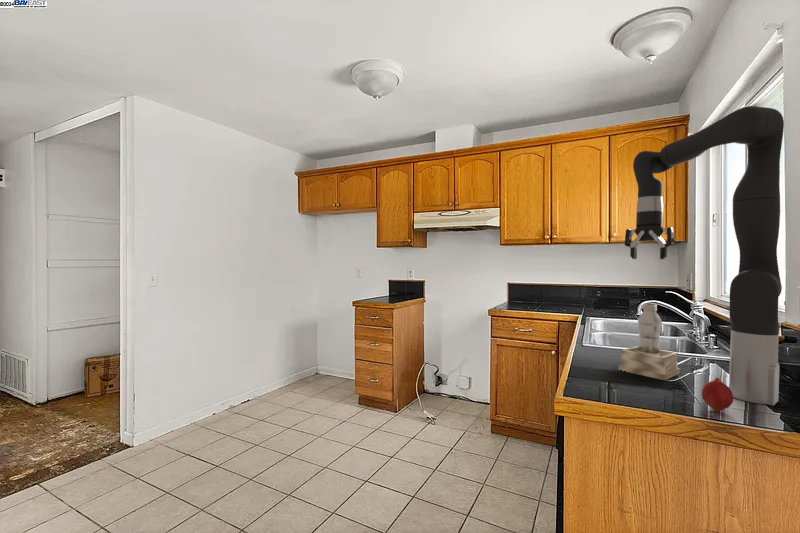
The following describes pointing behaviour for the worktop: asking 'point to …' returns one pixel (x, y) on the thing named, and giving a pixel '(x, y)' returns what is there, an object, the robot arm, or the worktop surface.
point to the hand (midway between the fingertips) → (648, 259)
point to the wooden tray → (650, 363)
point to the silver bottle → (649, 330)
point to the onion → (717, 395)
